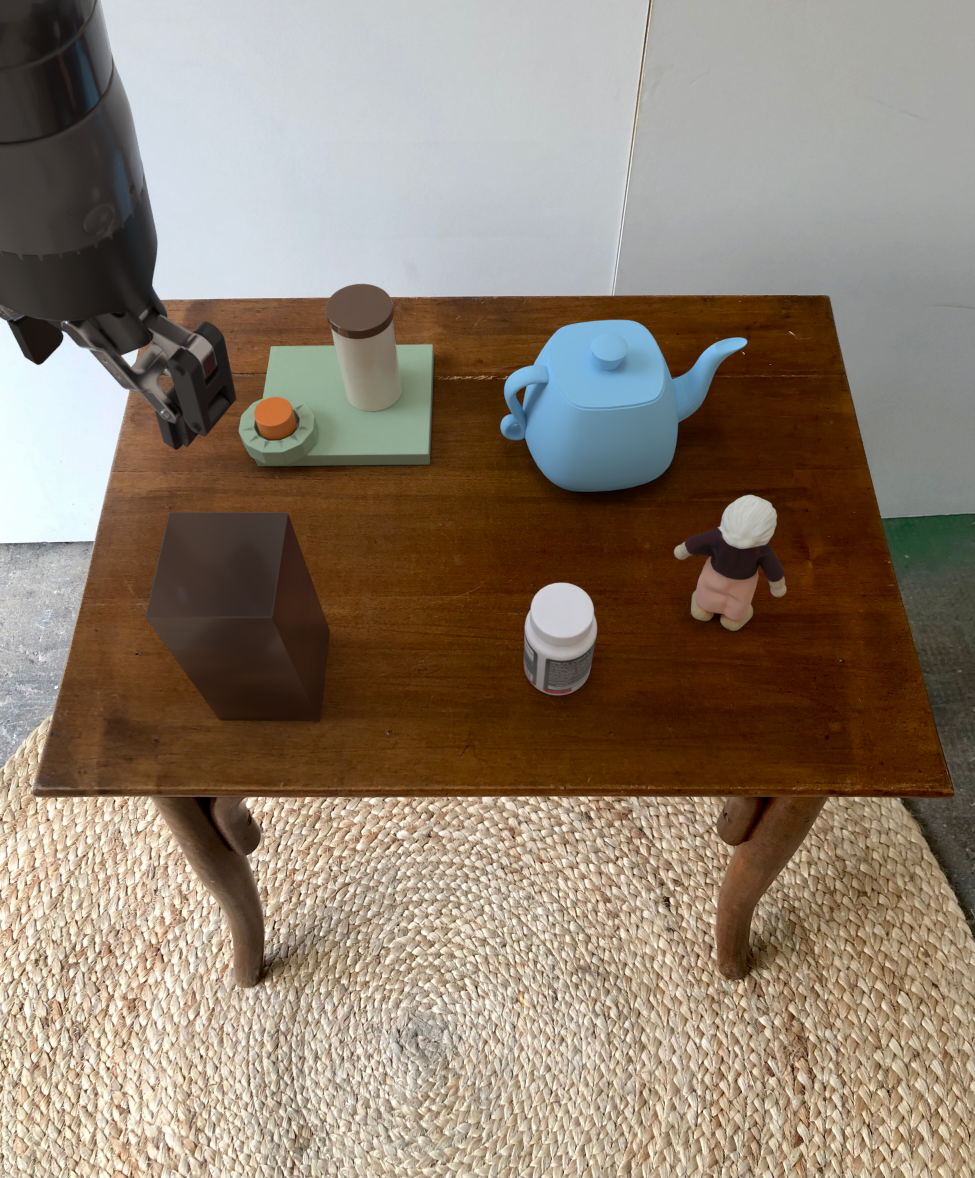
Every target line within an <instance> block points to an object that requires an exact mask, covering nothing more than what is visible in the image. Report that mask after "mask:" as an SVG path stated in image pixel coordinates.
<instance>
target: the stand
mask: <svg viewBox="0 0 975 1178" xmlns="http://www.w3.org/2000/svg"><path fill="white" fill-rule="evenodd" d="M306 562H307V561H306V560H305V557H304V554H303V552H302V548H301V545H300V543H299V539H298V537H297V534H296V532H295V529H294V526H293V523H292V520H291V517H290V515H289V512H287V511H284V512H282V511H280V512H279V511H256V512H255V511H169V512H168V515H167V520H166V524H165V529H164V533H163V537H162V541H161V545H160V550H159V554H158V559H157V563H156V567H155V573H154V577H153V581H152V585H151V589H150V594H149V598H148V601H147V607H146V611H145V616H144V617H145V619H146V620H147V621H148V623H149V624H150V626H151V627H152V629H153V630H154V631H155V633H156V634H157V636H158V637H159V638H160V639H161V642H162V643H163V644H164V646H165V647H166V648H167V650H168V651H169V653H170V654H171V655H172V656H173V658H174V659H175V661H176V662H177V663H178V665H179V666H180V667H181V669H182V671H184V674H185V675H186V676H187V677H188V679H189V680H190V682H191V683H192V684H193V686H194V687H195V689H196V690H197V691H198V693H199V694H200V695H201V697H202V698H203V700H204V701H205V702H206V704H207V705H208V707H209V708H210V710H211V711H212V712H213V714H214V715H215V717H216V718H217V720H219V721H298V722H299V721H300V722H301V721H309V722H312V721H313V722H315V721H317V722H318V721H320V720H321V715H322V714H321V713H322V705H323V696H324V687H325V680H326V670H327V660H328V651H329V643H330V634H331V630H330V628H329V625H328V621H327V619H326V616H325V612H324V610H323V607H322V605H321V602H320V598H319V596H318V594H317V591H316V589H315V585H314V582H313V580H312V577H311V575H310V571H309V568H308V566H307V565H308V564H307V563H306Z"/></svg>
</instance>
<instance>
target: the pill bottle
mask: <svg viewBox="0 0 975 1178" xmlns="http://www.w3.org/2000/svg"><path fill="white" fill-rule="evenodd" d="M524 622H525V623H524V629H523V630H524V641H523V669H524V674H525V676H526V678H527V680H528V681H529V683H530V684H531V685H532V686H533V687H534V688H535V689H537V690H538V691H540V692H542V693H544V694H547V695H549V696H564V695H569V694H572V693H574V692H576V691H577V690H578V689H580V688H581V687H582V686H583V685H584V684H585V683H586V681H587V680H588V678H589V675H590V673H591V668H592V662H593V657H594V653H595V646H596V642H597V641H596V640H597V634H598V624H597V619H596V615H595V608H594V604H593V601H592V599H591V597H590V595H589V594H588V593H587V592H586V591H585V590H583V589H582V588H581V587H580V586H577V585H575V584H573V583H569V582H555V583H550V584H548V585H545V586H544V587H542V588H541V589H539V591H537V592H536V593H535V595H534V597H533V598H532V600H531V603H530V610H529V611H528V613H527V615H526V618H525V621H524Z"/></svg>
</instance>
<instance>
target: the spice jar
mask: <svg viewBox="0 0 975 1178" xmlns="http://www.w3.org/2000/svg"><path fill="white" fill-rule="evenodd" d="M393 305H394V304H393V300H392V298H391V295H389V293H387V291H386V290H384V289H383V288H381V287H380V286H377V285H374V284H368V283H353V284H349V285H346V286H343V287H341V288H339V289H337V290H336V291H335V292H334V293H333V294H332V295H331V296H330V297H329V299H328V300H327V302H326V305H325V315H326V320H327V323H328V325H329V328H330V332H331V336H332V341H333V346H335V350H336V355H337V360H338V364H339V369H340V373H341V378H342V383H343V387H344V392H345V396H346V398H347V400H348V402H349V403H350V404H351V405H352V406H354V407H355V408H357V409H360V410H363V411H369V412H374V411H380V410H384V409H386V408H389V407H390V406H392V405H393V404H395V403H396V402H397V400H398V399H399V398H400V396H401V393H402V380H401V373H400V366H399V358H398V351H397V345H398V343H397V338H396V337H397V336H396V330H395V323H394V315H395V314H394V312H395V311H394V306H393Z"/></svg>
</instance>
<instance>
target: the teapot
mask: <svg viewBox="0 0 975 1178" xmlns="http://www.w3.org/2000/svg"><path fill="white" fill-rule="evenodd" d="M747 344H748V340H747V339H746V338H744V337H730V338H724V339H722V340H719V341H716V342H715V343H713V344H712V345H710V346H709V347H707V348H706V349H705V350H704V351H703V352H702V354H700V356H699V357H698V358H697V360H696V362H695V363H694V365H693V366H692V367H691V368H690V369H689V370H688V371H687V372H685V373H684V374H682V375H680V376H678V377H675V378H672V375H671V373H670V369H669V367H668V364H667V362H666V359H665V357H664V355H663V353H662V350H661V348H660V347H659V345H658V343H657V341H656V339H655V338H654V336H653V334H652V333H651V332H650V331H649V329H648V328H647V327H646V326H644V325H643V324H641V323H639V322H637V321H634V320H630V319H629V320H628V319H604V320H591V321H583V322H577V323H571V324H567V325H564V326H562V327H560V328H558V329H557V330H556V331H555V332H554V333H553V334H552V336H551V337H550V338H549V339H548V340H547V342H546V343H545V345H544V347H543V348H542V349H541V350H540V352H539V355H538V356H537V357H536V359H535V361H534V363H533V365H528V366H524V367H521V368H520V369H517V370H515V371H514V372H513V373H511V374H510V375H509V377H508V378H507V379H506V381H505V384H504V386H503V387H504V388H503V394H504V399H505V402H506V405H507V407H508V410H509V411H510V412H511V414H507V415H505V416H504V417H503V418H502V420H501V421H500V426H499V427H500V432H501V434H502V435H503V437H505V438H506V439H507V440H511V441H521V440H524V439H525V441H526V444H527V447H528V450H529V452H530V454H531V457H532V459H533V460H534V462H535V464H536V466H537V467H538V469H539V470H540V471H541V472H542V474H543V475H544V476H545V478H547V480H549V481H550V482H551V483H552V484H554V485H556V486H557V487H559V488H561V489H563V490H566V491H570V492H579V493H580V492H582V493H588V492H589V493H591V492H592V493H593V492H594V493H595V492H610V491H618V490H623V489H630V488H635V487H638V486H641V485H645V484H648V483H649V482H651V481H653V480H656V479H657V478H659V477H660V476H661V475H663V474H664V473H665V472H666V470H667V469H668V468H669V467H670V466H671V464H672V461H673V459H674V455H675V452H676V446H677V441H678V434H679V433H678V432H679V431H678V429H679V423H680V422H683V421H684V420H686V419H687V418H689V417H690V416H691V415H693V414H694V413H696V411H698V409H699V408H700V407H701V406H702V404H703V402H704V401H705V399H706V397H707V394H708V392H709V389H710V387H711V384H712V381H713V378H714V375H715V373H716V372H717V370H718V368H719V366H720V365H721V363H722V362H723V361H724V360H726V359H727V358H728V357H729V356H731V355H733V354H734V353H736V352H738V351H739V350H742V349H743V348H744V347H746V345H747ZM525 387H526V388H525ZM523 388H525V392H524V395H523V396H524V397H523V403H522V406H521V404H520V402H519V400H518V398H517V393H518V392H519V391H520V390H522V389H523Z"/></svg>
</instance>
